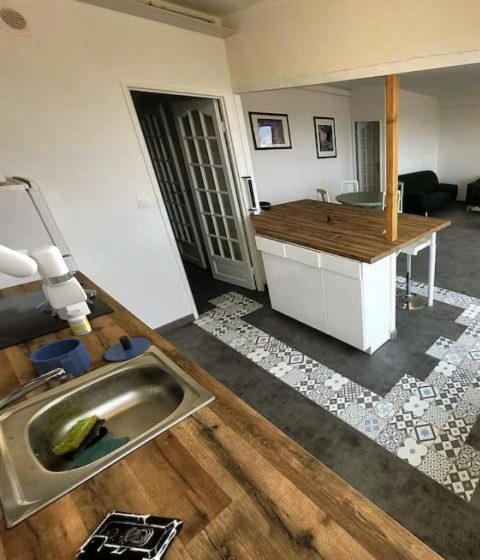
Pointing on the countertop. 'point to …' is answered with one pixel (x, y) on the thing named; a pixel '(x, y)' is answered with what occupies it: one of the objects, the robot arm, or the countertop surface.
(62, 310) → the milk carton
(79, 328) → the supplement bottle
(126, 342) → the pot lid
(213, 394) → the countertop surface
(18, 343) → the countertop surface
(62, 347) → the pot
